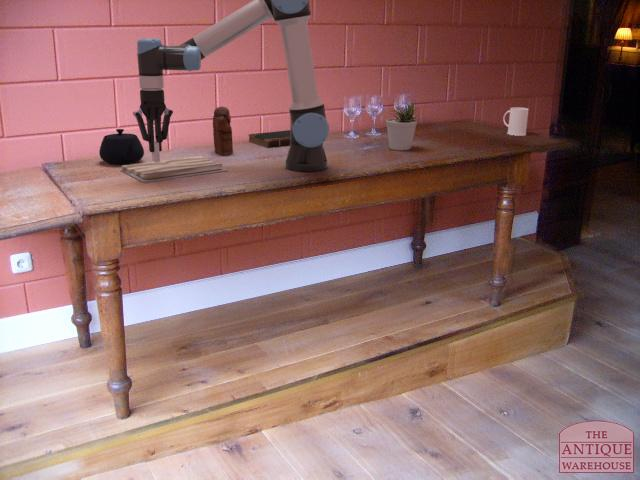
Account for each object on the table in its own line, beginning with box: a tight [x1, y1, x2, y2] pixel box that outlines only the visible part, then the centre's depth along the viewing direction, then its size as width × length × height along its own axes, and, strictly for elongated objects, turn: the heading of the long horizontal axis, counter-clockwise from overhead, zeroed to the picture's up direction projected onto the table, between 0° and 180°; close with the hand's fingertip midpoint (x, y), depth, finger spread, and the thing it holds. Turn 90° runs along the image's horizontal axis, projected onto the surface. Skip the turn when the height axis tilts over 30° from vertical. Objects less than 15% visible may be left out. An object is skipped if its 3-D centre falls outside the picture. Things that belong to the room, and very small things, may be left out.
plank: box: [133, 159, 223, 179], centre depth 226 cm, size 11×28×2 cm, turn 126°
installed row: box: [121, 155, 210, 174], centre depth 234 cm, size 7×30×1 cm, turn 126°
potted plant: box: [385, 100, 420, 152], centre depth 268 cm, size 13×14×20 cm
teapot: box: [98, 128, 145, 166], centre depth 238 cm, size 25×16×12 cm, turn 34°
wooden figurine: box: [212, 106, 234, 157], centre depth 256 cm, size 12×6×18 cm, turn 25°
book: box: [247, 129, 290, 149], centre depth 282 cm, size 17×4×25 cm
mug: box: [502, 106, 530, 137], centre depth 307 cm, size 12×8×12 cm
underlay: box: [120, 167, 229, 184], centre depth 229 cm, size 20×31×1 cm, turn 126°
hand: (156, 161), depth 218 cm, fingers closed
